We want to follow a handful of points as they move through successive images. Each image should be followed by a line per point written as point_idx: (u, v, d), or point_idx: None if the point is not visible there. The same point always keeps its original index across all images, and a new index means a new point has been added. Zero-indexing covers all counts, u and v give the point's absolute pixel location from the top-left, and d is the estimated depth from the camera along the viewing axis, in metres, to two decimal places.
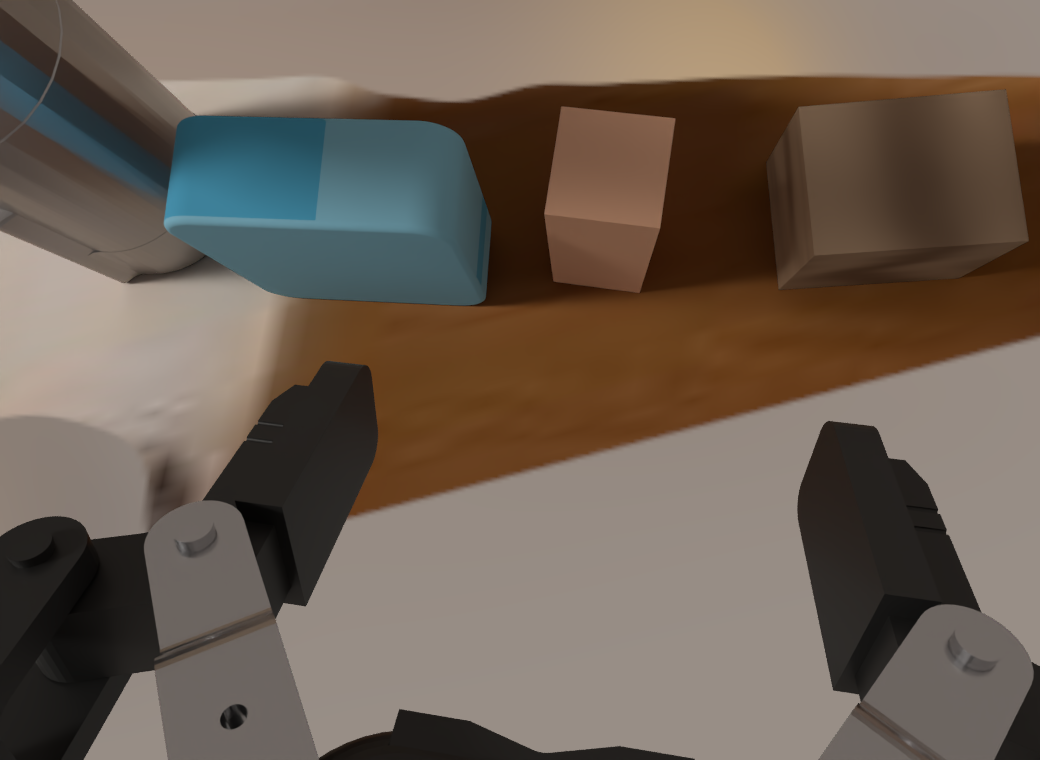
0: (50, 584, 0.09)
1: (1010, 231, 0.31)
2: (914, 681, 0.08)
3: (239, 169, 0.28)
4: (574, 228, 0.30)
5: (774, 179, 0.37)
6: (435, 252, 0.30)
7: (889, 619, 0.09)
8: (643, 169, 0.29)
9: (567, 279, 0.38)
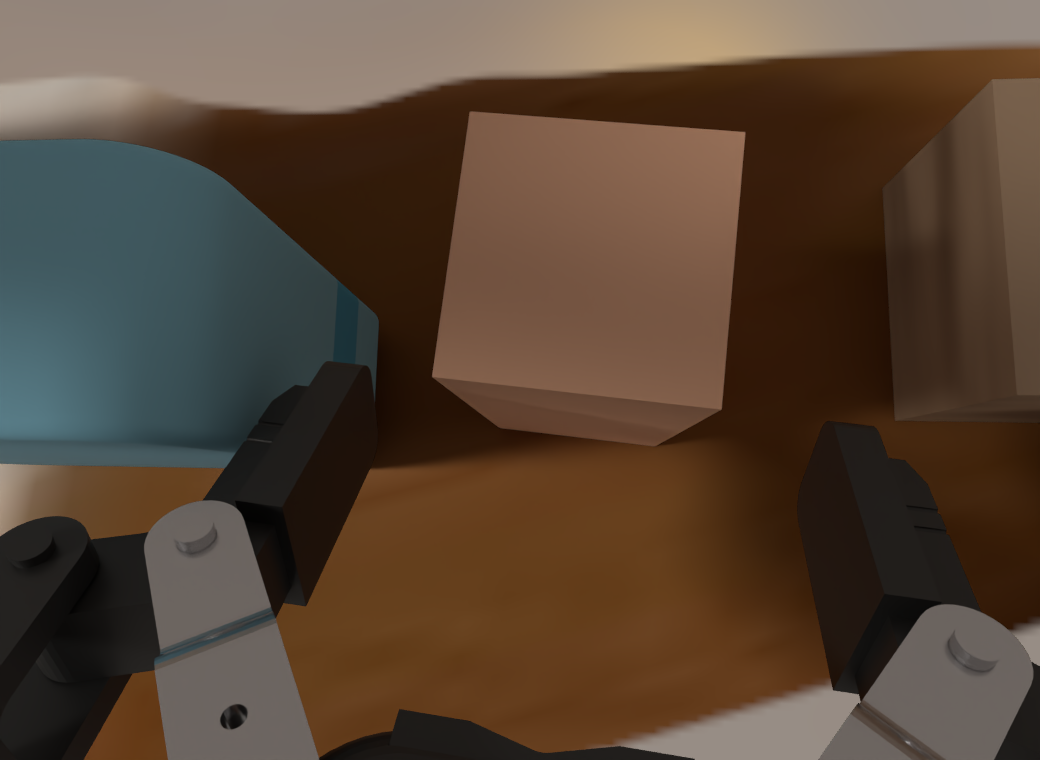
0: (50, 583, 0.09)
1: None
2: (914, 681, 0.08)
3: None
4: (513, 395, 0.13)
5: (902, 220, 0.20)
6: (178, 451, 0.12)
7: (889, 619, 0.09)
8: (673, 261, 0.12)
9: (522, 428, 0.21)
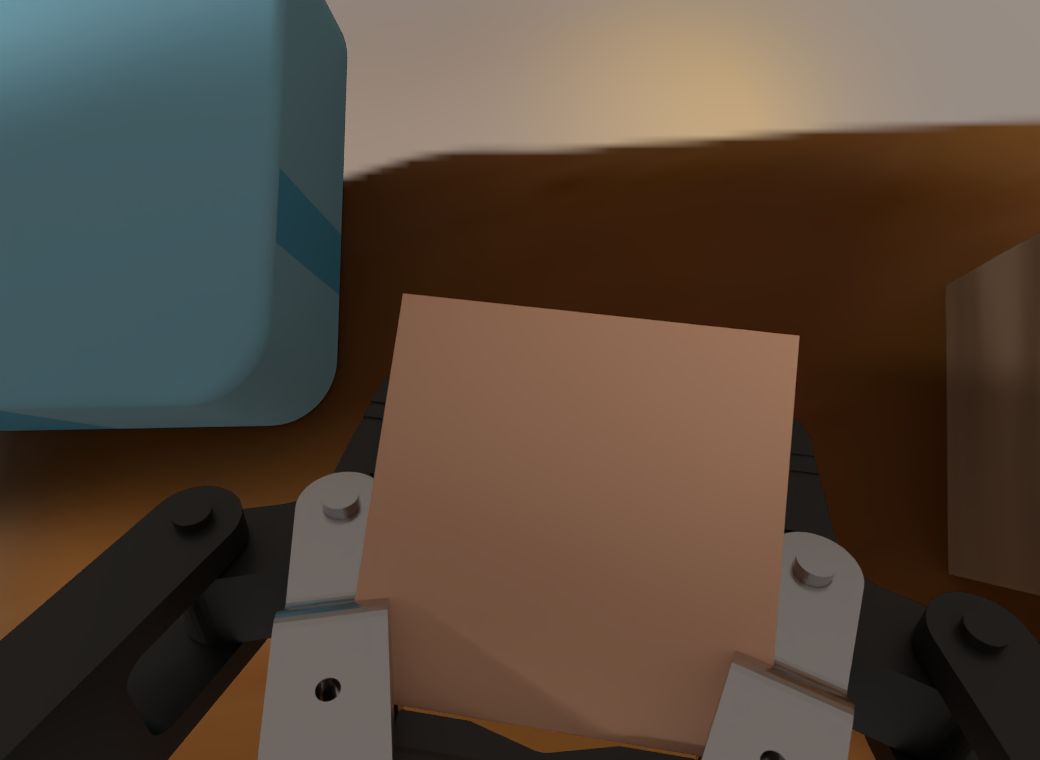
0: (215, 548, 0.09)
1: None
2: None
3: None
4: None
5: (971, 332, 0.17)
6: None
7: None
8: (693, 529, 0.08)
9: None
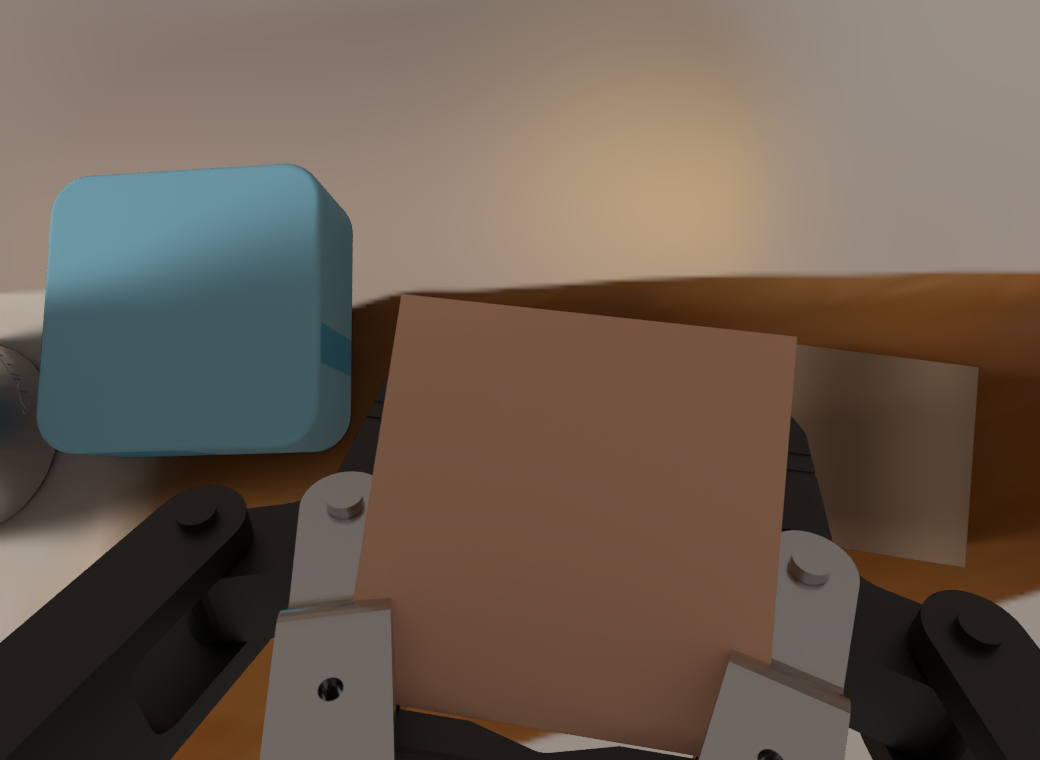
0: (219, 547, 0.09)
1: (944, 550, 0.25)
2: None
3: None
4: None
5: None
6: (296, 217, 0.30)
7: None
8: (691, 530, 0.08)
9: None
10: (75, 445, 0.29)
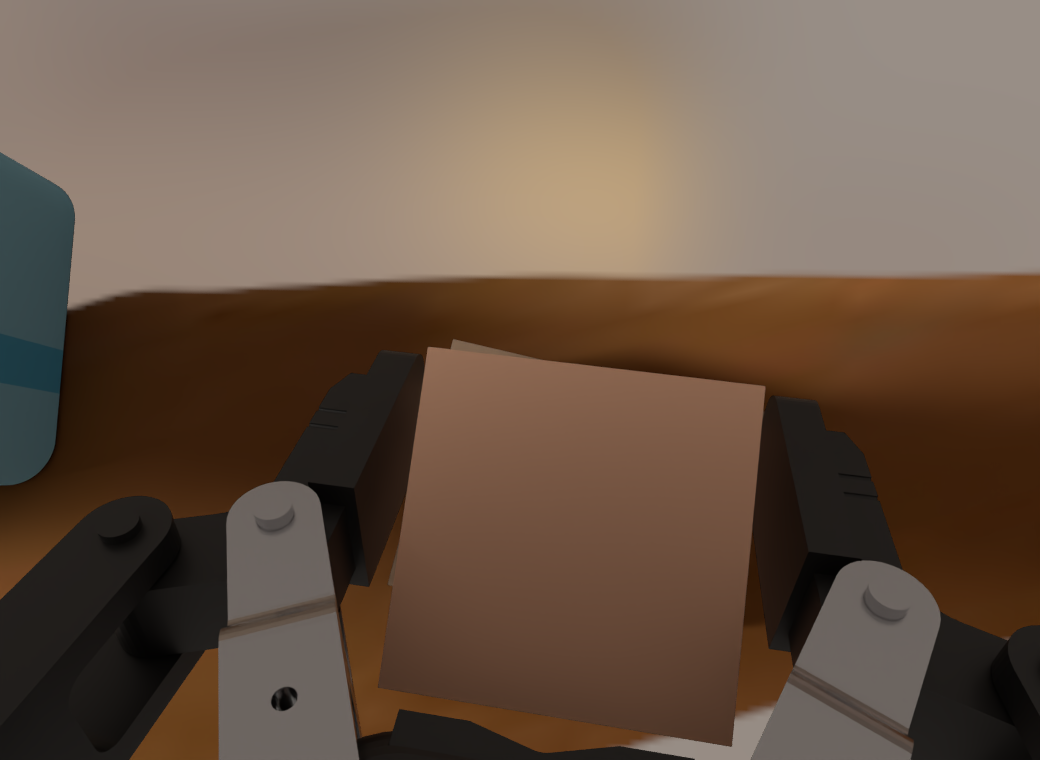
0: (140, 559, 0.09)
1: None
2: (827, 628, 0.08)
3: None
4: None
5: None
6: None
7: (814, 576, 0.10)
8: (674, 550, 0.09)
9: None
10: None
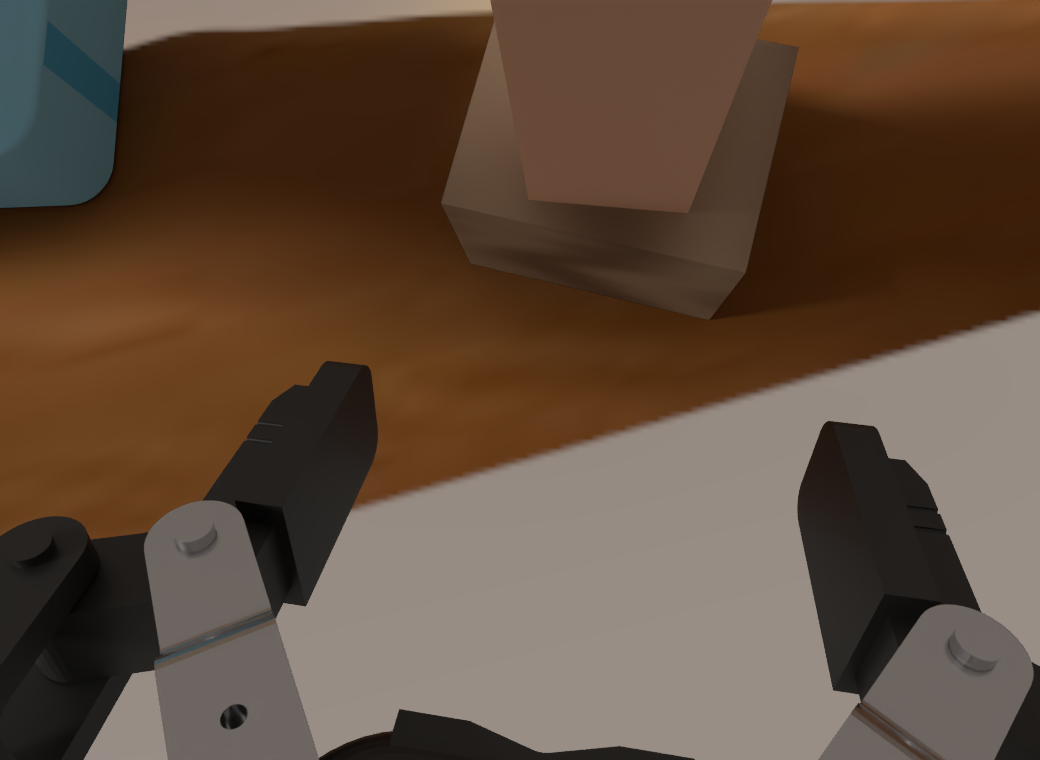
0: (50, 584, 0.09)
1: (724, 251, 0.20)
2: (915, 681, 0.08)
3: None
4: (561, 9, 0.12)
5: None
6: None
7: (889, 619, 0.09)
8: None
9: (553, 191, 0.20)
10: None
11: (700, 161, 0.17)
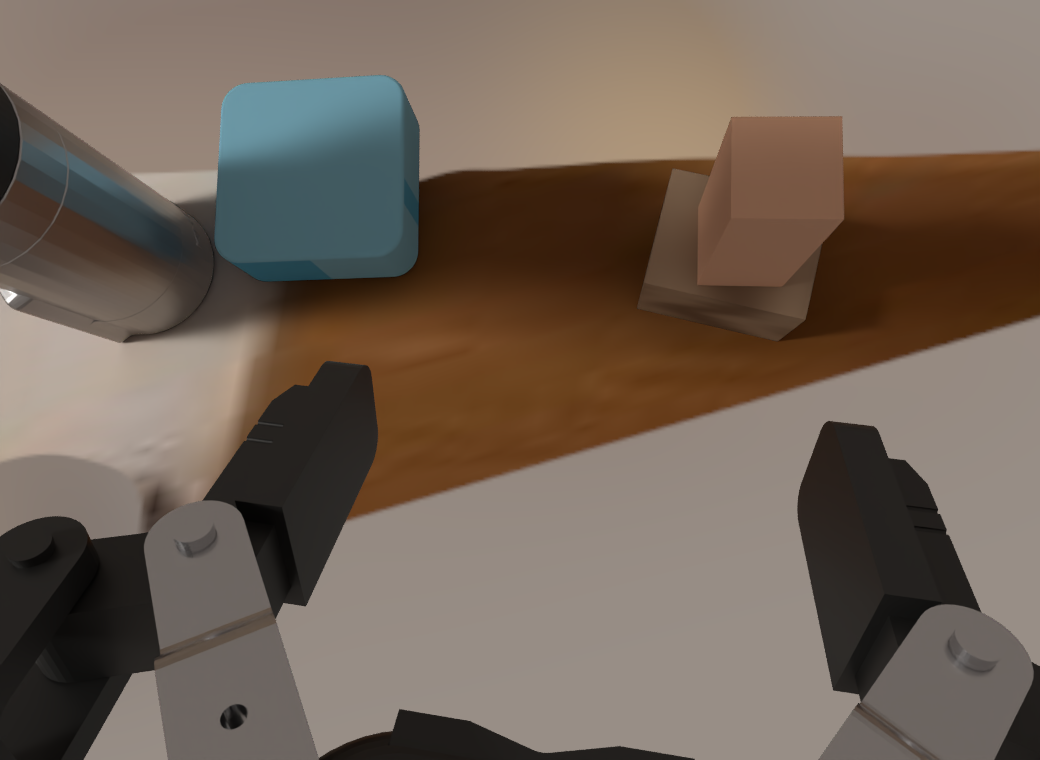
0: (50, 584, 0.09)
1: (794, 308, 0.40)
2: (914, 681, 0.08)
3: None
4: (753, 229, 0.32)
5: None
6: (387, 109, 0.45)
7: (889, 619, 0.09)
8: (819, 167, 0.31)
9: (713, 281, 0.40)
10: (241, 256, 0.44)
11: (795, 268, 0.37)
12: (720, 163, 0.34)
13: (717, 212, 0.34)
